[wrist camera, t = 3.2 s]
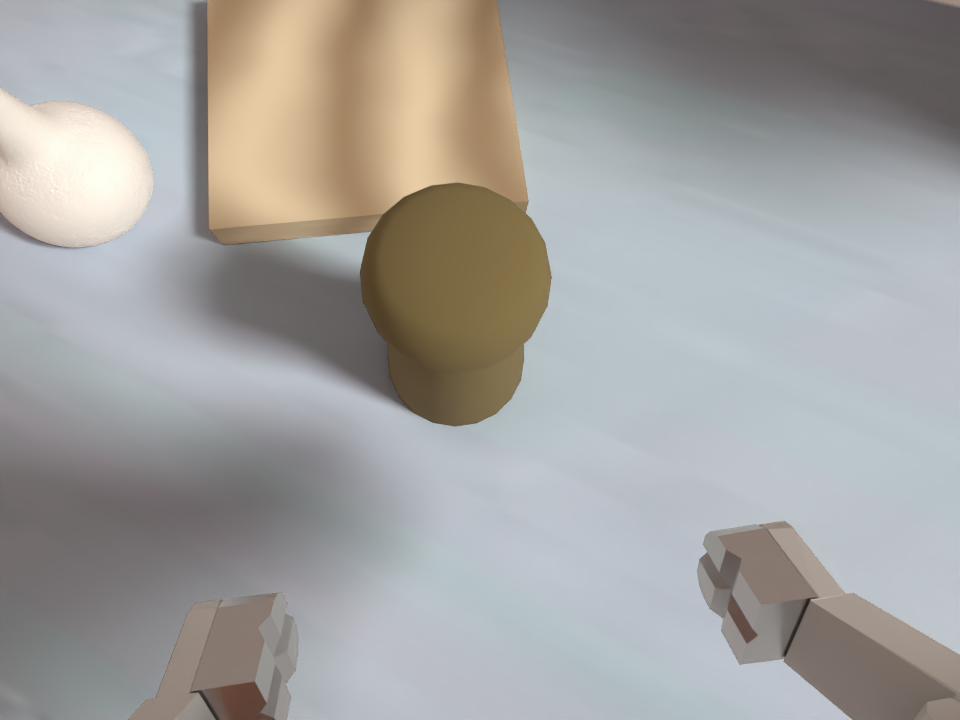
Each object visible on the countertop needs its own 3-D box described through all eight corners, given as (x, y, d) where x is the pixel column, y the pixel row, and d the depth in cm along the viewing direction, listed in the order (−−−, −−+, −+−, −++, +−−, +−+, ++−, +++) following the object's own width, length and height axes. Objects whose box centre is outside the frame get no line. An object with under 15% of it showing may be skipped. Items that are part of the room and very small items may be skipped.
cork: (372, 314, 24) (305, 176, 13) (499, 279, 25) (533, 119, 14) (409, 444, 23) (367, 404, 12) (542, 402, 23) (614, 330, 13)
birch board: (490, -4, 28) (492, -30, 27) (524, 217, 26) (528, 201, 24) (220, 12, 27) (207, -14, 26) (223, 244, 25) (208, 229, 23)
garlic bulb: (194, 193, 26) (99, 51, 18) (87, 284, 24) (-70, 167, 16) (101, 121, 26) (-28, -45, 19) (-11, 203, 25) (-204, 56, 17)
